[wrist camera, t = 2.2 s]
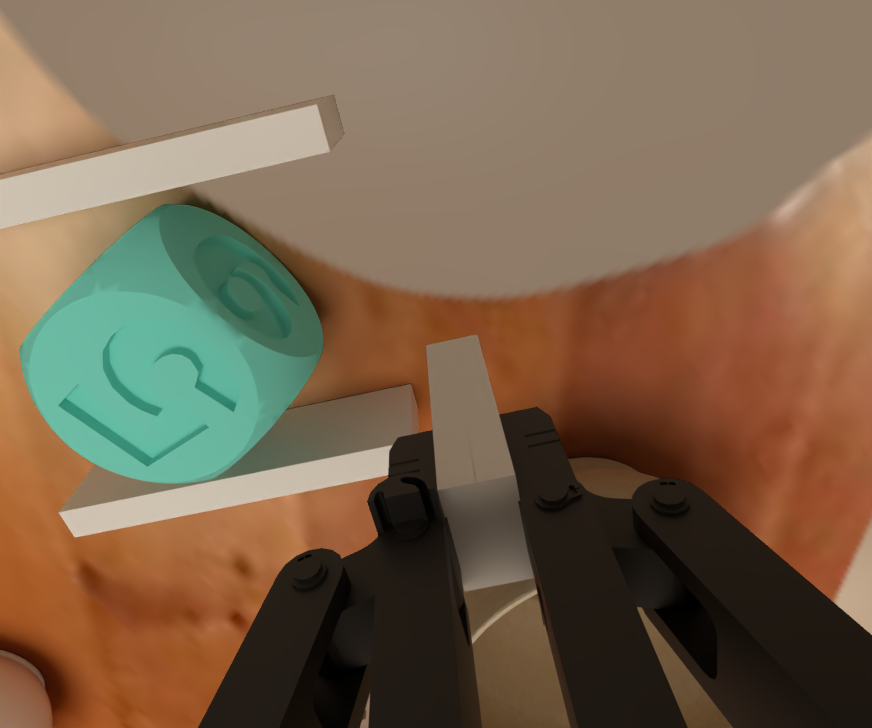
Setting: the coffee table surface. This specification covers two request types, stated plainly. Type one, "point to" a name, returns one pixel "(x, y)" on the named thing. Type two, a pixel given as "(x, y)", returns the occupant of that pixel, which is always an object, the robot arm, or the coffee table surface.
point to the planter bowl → (529, 645)
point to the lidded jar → (22, 694)
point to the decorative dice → (173, 349)
